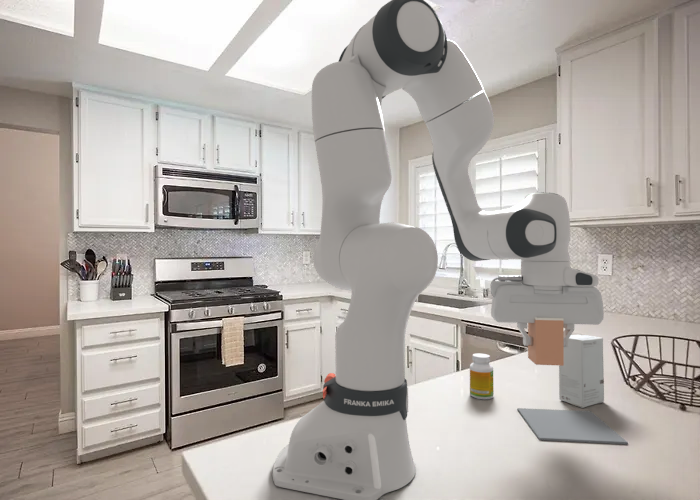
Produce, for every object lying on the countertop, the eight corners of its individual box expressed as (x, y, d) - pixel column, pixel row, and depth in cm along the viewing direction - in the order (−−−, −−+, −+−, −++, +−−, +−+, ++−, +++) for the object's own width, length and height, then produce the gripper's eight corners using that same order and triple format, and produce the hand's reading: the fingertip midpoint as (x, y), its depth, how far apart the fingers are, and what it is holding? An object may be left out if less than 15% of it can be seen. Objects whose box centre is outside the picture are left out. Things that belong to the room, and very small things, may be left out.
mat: (539, 440, 74) (539, 437, 74) (517, 410, 88) (517, 408, 88) (627, 444, 72) (627, 442, 72) (590, 412, 86) (590, 411, 86)
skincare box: (582, 409, 88) (582, 340, 88) (557, 400, 94) (557, 335, 94) (605, 402, 92) (605, 336, 92) (579, 393, 97) (579, 332, 97)
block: (535, 364, 78) (535, 317, 78) (528, 357, 83) (528, 313, 83) (563, 365, 77) (563, 318, 77) (553, 358, 82) (553, 314, 82)
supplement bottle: (495, 400, 93) (494, 358, 93) (470, 399, 94) (470, 357, 94) (491, 392, 99) (491, 352, 99) (468, 391, 100) (468, 352, 100)
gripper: (493, 276, 78) (494, 347, 78) (607, 277, 75) (607, 351, 75) (487, 274, 84) (487, 340, 84) (592, 275, 82) (592, 343, 82)
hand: (545, 345), depth 80 cm, fingers closed on block, 5 cm apart
